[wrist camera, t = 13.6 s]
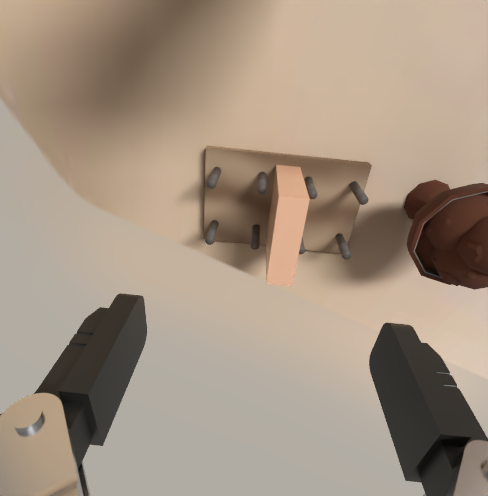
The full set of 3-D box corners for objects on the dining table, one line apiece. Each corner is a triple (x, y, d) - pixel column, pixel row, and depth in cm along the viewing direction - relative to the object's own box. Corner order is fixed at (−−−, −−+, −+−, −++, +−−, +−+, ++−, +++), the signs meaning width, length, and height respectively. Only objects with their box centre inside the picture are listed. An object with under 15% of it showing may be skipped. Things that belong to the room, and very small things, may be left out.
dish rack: (207, 145, 38) (198, 159, 33) (368, 162, 37) (384, 179, 33) (205, 234, 44) (197, 257, 39) (343, 249, 44) (352, 273, 39)
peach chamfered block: (276, 164, 37) (278, 196, 29) (300, 167, 37) (309, 199, 29) (266, 239, 42) (266, 283, 34) (287, 241, 42) (292, 286, 34)
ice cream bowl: (376, 173, 38) (432, 235, 25) (480, 146, 36) (599, 199, 23) (384, 247, 43) (434, 329, 30) (475, 227, 41) (570, 307, 28)
